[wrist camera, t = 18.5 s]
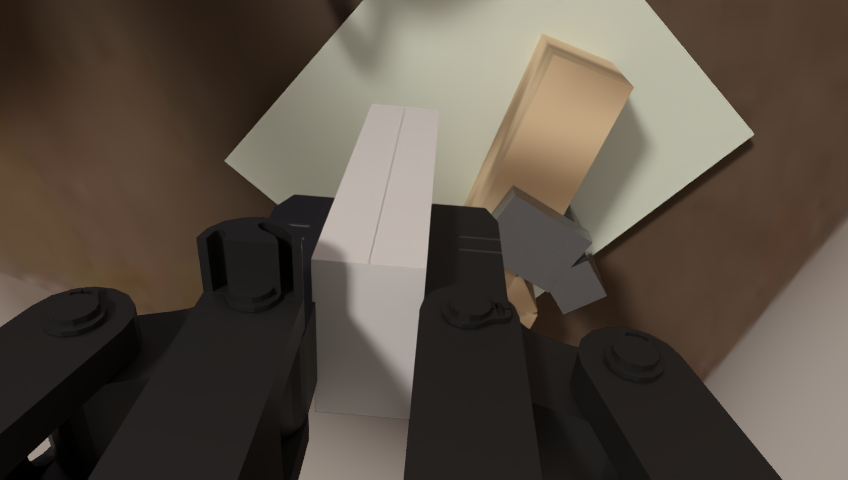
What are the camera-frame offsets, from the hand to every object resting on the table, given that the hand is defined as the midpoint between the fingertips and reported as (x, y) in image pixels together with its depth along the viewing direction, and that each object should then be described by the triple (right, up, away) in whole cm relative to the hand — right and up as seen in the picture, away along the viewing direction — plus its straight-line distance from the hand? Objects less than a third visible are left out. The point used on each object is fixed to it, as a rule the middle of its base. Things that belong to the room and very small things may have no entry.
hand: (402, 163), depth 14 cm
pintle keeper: (+5, -1, +24) cm, 25 cm away
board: (+4, +4, +22) cm, 23 cm away
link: (+5, +1, +22) cm, 23 cm away
